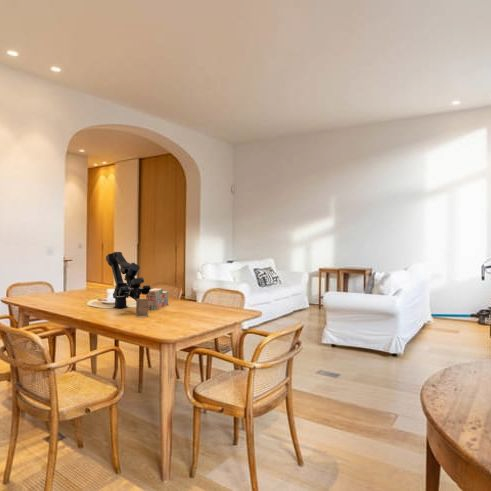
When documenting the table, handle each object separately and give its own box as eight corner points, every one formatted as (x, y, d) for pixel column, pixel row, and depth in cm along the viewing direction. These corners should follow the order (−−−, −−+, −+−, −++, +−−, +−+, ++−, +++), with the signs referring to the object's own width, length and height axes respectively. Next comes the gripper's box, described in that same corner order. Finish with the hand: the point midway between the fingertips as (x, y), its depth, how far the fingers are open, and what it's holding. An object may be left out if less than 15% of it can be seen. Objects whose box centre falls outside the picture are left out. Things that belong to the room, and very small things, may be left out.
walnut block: (136, 316, 228) (136, 298, 227) (144, 315, 231) (144, 298, 230) (139, 317, 224) (139, 300, 223) (147, 316, 227) (148, 299, 227)
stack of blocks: (159, 304, 268) (159, 286, 268) (168, 304, 267) (168, 286, 267) (146, 309, 247) (146, 290, 247) (155, 310, 246) (155, 291, 246)
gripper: (120, 273, 229) (127, 294, 221) (149, 272, 241) (157, 292, 232) (115, 285, 235) (121, 306, 227) (144, 283, 247) (151, 303, 239)
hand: (138, 301), depth 231 cm, fingers closed
